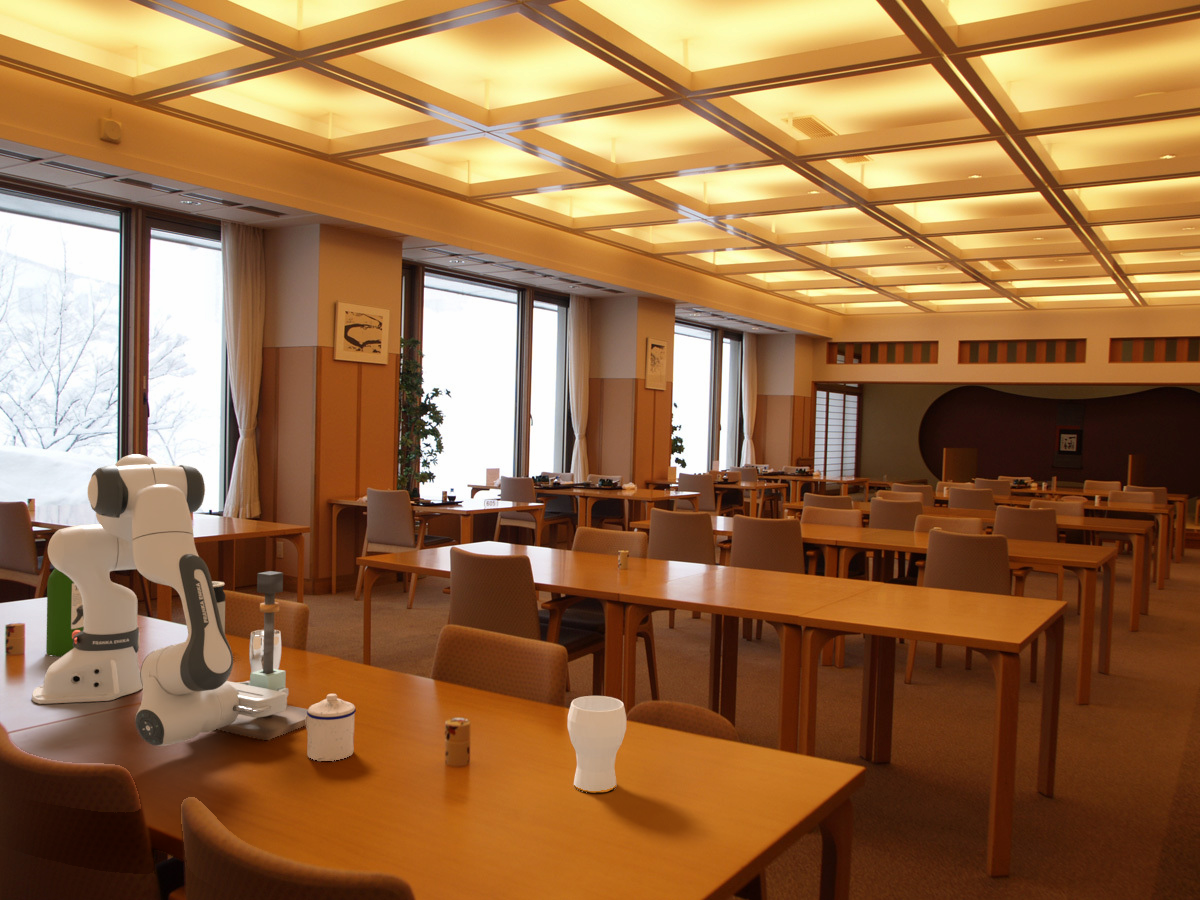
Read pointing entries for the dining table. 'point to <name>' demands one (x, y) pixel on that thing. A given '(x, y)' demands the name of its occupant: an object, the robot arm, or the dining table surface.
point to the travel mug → (220, 600)
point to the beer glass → (258, 650)
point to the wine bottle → (62, 613)
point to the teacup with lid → (330, 729)
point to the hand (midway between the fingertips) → (268, 688)
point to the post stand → (269, 672)
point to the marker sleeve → (268, 679)
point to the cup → (596, 739)
